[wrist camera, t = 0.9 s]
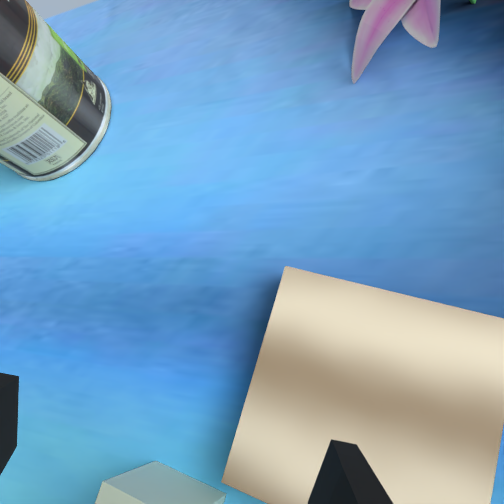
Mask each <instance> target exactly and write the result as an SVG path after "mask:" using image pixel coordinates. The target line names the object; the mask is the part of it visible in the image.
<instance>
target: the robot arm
mask: <svg viewBox="0 0 504 504" xmlns="http://www.w3.org/2000/svg"><path fill="white" fill-rule="evenodd" d="M18 390H19V376H14V375H9V374H4V373H0V475H1V473H2V471H3V469H4V468H5V466H6V464H7V462H8V461H9V459H10V457H11V455H12V454H13V452H14V450H15V448H16V447H17V424H18ZM308 504H393V502H392V500H391V499H390V497H389V496H388V494H387V492H386V491H385V489H384V488H383V486H382V484H381V483H380V481H379V480H378V478H377V476H376V475H375V473H374V471H373V470H372V468H371V467H370V465H369V463H368V462H367V460H366V458H365V457H364V455H363V454H362V452H361V450H360V449H359V447H358V446H357V444H353V443H348V442H343V441H338V440H333V439H331V441H330V444H329V446H328V449H327V452H326V454H325V457H324V460H323V462H322V465H321V468H320V470H319V473H318V476H317V479H316V481H315V484H314V487H313V489H312V492H311V495H310V497H309V500H308Z"/></svg>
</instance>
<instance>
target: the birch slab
mask: <svg viewBox="0 0 504 504" xmlns="http://www.w3.org/2000/svg"><path fill="white" fill-rule="evenodd" d="M503 425H504V319H503V318H499V317H495V316H491V315H487V314H482V313H478V312H474V311H470V310H466V309H462V308H458V307H453V306H449V305H445V304H441V303H437V302H433V301H429V300H424V299H420V298H416V297H412V296H408V295H404V294H400V293H395V292H391V291H387V290H383V289H379V288H375V287H371V286H366V285H362V284H358V283H354V282H350V281H346V280H342V279H337V278H333V277H329V276H325V275H321V274H317V273H313V272H308V271H304V270H300V269H296V268H292V267H288V266H285V269H284V272H283V275H282V279H281V282H280V285H279V289H278V292H277V295H276V299H275V302H274V306H273V309H272V312H271V316H270V319H269V322H268V326H267V329H266V333H265V336H264V339H263V343H262V346H261V349H260V353H259V356H258V360H257V363H256V366H255V370H254V373H253V376H252V380H251V383H250V387H249V390H248V393H247V397H246V400H245V403H244V407H243V410H242V414H241V417H240V420H239V424H238V427H237V430H236V434H235V437H234V441H233V444H232V447H231V451H230V454H229V457H228V461H227V464H226V468H225V471H224V474H223V478H222V481H221V482H222V483H224V484H226V485H228V486H231V487H233V488H235V489H237V490H239V491H241V492H244V493H246V494H248V495H250V496H252V497H255V498H257V499H259V500H261V501H263V502H265V503H268V504H308V500H309V497H310V495H311V492H312V489H313V487H314V484H315V481H316V479H317V476H318V473H319V470H320V468H321V465H322V462H323V460H324V457H325V454H326V452H327V449H328V446H329V444H330V441H331V439H333V440H338V441H343V442H348V443H353V444H357V446H358V447H359V449H360V450H361V452H362V454H363V455H364V457H365V458H366V460H367V462H368V463H369V465H370V467H371V468H372V470H373V471H374V473H375V475H376V476H377V478H378V480H379V481H380V483H381V484H382V486H383V488H384V489H385V491H386V492H387V494H388V496H389V497H390V499H391V500H392V502H393V504H490V502H491V496H492V490H493V484H494V478H495V472H496V466H497V460H498V454H499V448H500V442H501V436H502V431H503Z"/></svg>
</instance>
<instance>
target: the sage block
mask: <svg viewBox="0 0 504 504" xmlns="http://www.w3.org/2000/svg"><path fill="white" fill-rule="evenodd" d="M225 497H226V493H224V492H222V491H220V490H217V489H215V488H213V487H211V486H209V485H207V484H205V483H203V482H200V481H198V480H196V479H194V478H192V477H190V476H188V475H185V474H183V473H181V472H179V471H177V470H175V469H173V468H171V467H168V466H166V465H164V464H162V463H160V462H158V461H154V462H151V463H149V464H146V465H143V466H141V467H138V468H136V469H133V470H130V471H128V472H125V473H123V474H120V475H117V476H115V477H112V478H110V479H107V480H104V481H103V482H102V484H101V487H100V490H99V493H98V496H97V499H96V502H95V504H224V500H225Z"/></svg>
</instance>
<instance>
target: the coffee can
mask: <svg viewBox="0 0 504 504" xmlns="http://www.w3.org/2000/svg"><path fill="white" fill-rule="evenodd" d="M110 115H111V99H110V95H109V92H108V89H107V87H106V86H105V84H104V83H103V82H102V80H101V79H100V78H99V77H98V76H96V75H95V74H94V73H93V72H92V71H91V70H90V69H89V68H88V67H87V66H86V65H85V64H84V63H83V62H82V61H81V59H80V58H79V57H78V56H77V55H76V54H75V53H74V52H73V51H72V50H71V49H70V48H69V47H68V45H67V44H66V43H65V42H64V41H63V40H62V39H61V38H60V37H59V36H58V35H57V34H56V33H55V32H54V30H53V29H52V28H51V27H50V26H49V25H48V24H47V23H46V22H45V21H44V20H43V19H42V18H41V16H40V15H39V14H38V13H37V12H36V11H35V10H34V9H33V8H32V7H31V6H30V5H29V3H28V2H27V1H26V0H0V163H2V164H3V165H5V166H7V167H9V168H10V169H12V170H13V171H15V172H16V173H17V174H19V175H20V176H22V177H24V178H26V179H29V180H34V181H46V180H52V179H55V178H58V177H60V176H63V175H65V174H67V173H69V172H71V171H72V170H74V169H75V168H77V167H78V166H80V165H81V164H82V163H83V162H84V161H85V160H86V159H87V158H88V157H89V156H90V155H91V154H92V153H93V152H94V151H95V149H96V148H97V146H98V144H99V143H100V142H101V140H102V138H103V136H104V134H105V132H106V130H107V127H108V124H109V120H110Z"/></svg>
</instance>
